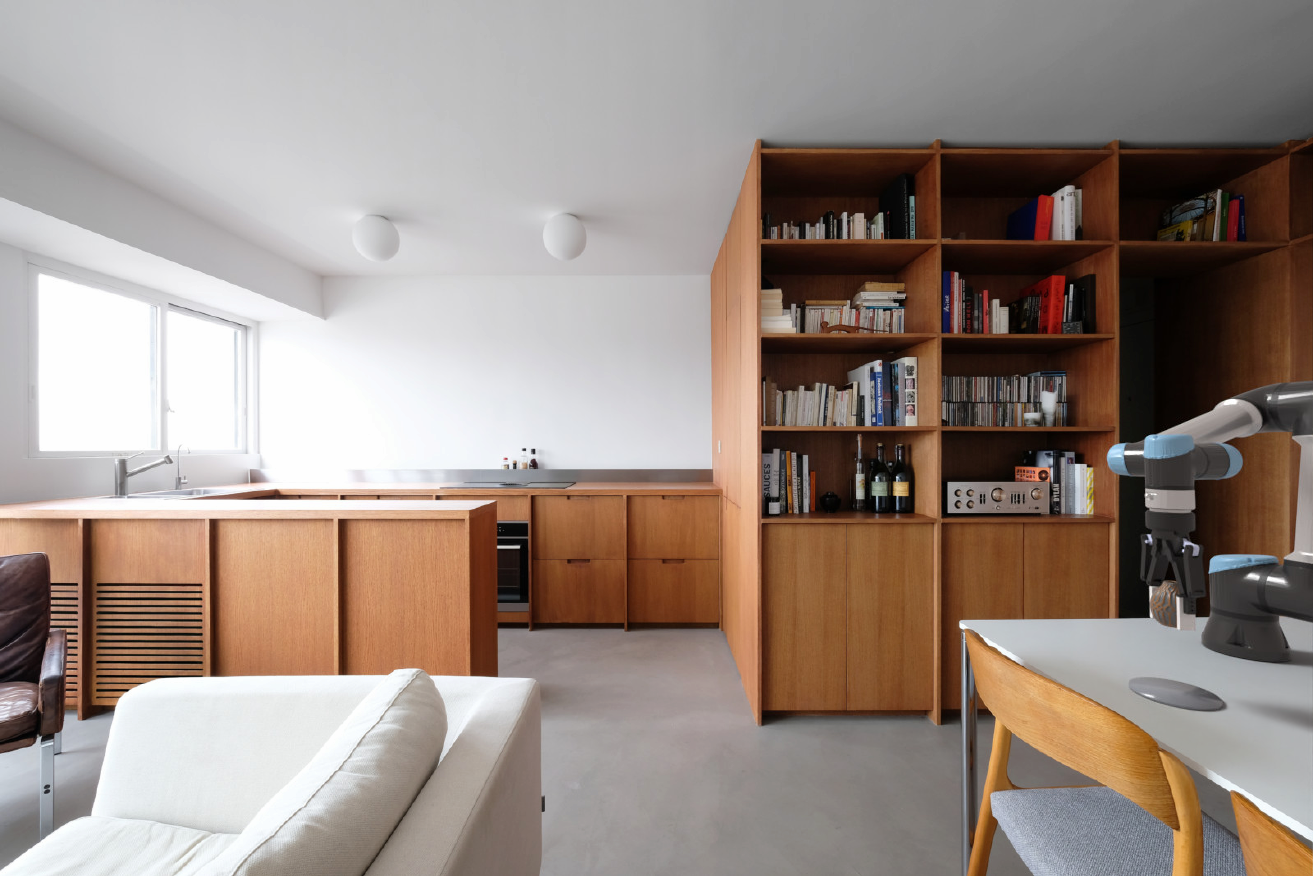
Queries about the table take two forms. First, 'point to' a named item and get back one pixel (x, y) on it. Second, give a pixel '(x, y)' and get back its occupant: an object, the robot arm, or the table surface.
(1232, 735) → the table surface
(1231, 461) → the robot arm
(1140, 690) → the disc
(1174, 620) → the vase
